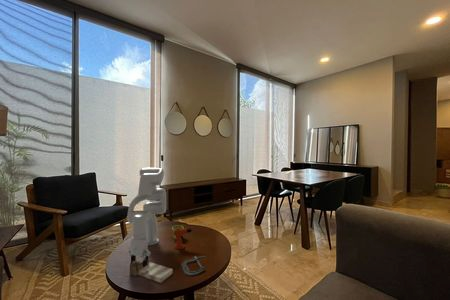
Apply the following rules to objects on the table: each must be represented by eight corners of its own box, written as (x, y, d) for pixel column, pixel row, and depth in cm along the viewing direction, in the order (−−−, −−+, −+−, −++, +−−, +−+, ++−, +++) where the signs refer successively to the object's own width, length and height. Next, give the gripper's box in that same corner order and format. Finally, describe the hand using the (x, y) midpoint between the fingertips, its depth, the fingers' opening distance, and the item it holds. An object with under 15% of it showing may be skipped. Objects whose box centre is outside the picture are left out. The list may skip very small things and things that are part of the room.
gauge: (129, 274, 127) (129, 261, 127) (142, 265, 136) (142, 254, 136) (135, 276, 125) (135, 263, 125) (148, 267, 134) (148, 256, 134)
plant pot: (172, 241, 173) (173, 230, 173) (170, 236, 181) (171, 226, 181) (184, 239, 177) (184, 228, 176) (182, 235, 185) (182, 224, 185)
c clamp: (179, 261, 144) (179, 256, 144) (205, 257, 149) (205, 253, 149) (184, 278, 125) (184, 273, 125) (213, 273, 130) (213, 268, 130)
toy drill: (199, 246, 160) (197, 226, 160) (174, 250, 159) (171, 230, 159) (200, 243, 165) (197, 224, 165) (175, 247, 164) (172, 227, 164)
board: (129, 271, 130) (129, 267, 130) (142, 263, 139) (142, 259, 139) (160, 282, 120) (160, 278, 120) (172, 273, 129) (172, 269, 129)
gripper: (123, 235, 130) (123, 263, 130) (145, 240, 123) (145, 270, 123) (134, 230, 137) (133, 257, 137) (154, 235, 129) (154, 264, 130)
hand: (139, 263), depth 130 cm, fingers open, 9 cm apart
